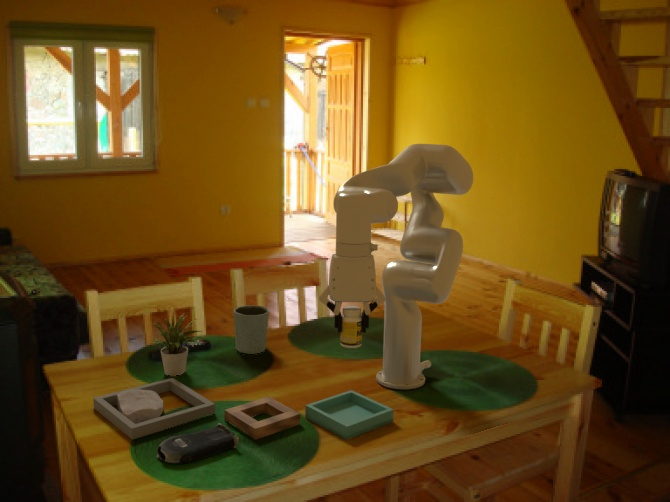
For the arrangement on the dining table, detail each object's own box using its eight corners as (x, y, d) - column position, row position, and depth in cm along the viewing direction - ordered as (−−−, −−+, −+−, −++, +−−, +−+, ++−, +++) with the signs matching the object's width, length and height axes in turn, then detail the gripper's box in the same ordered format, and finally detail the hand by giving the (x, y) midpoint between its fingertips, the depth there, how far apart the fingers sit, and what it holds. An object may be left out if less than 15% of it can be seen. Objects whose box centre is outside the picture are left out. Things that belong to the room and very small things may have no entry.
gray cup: (239, 343, 207) (239, 304, 205) (272, 345, 206) (272, 306, 203) (229, 354, 197) (229, 313, 195) (264, 357, 196) (264, 315, 194)
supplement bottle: (359, 349, 151) (360, 312, 149) (338, 347, 152) (339, 310, 150) (363, 342, 156) (364, 306, 154) (342, 340, 157) (343, 304, 155)
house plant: (159, 389, 172) (157, 325, 169) (134, 372, 182) (131, 312, 179) (209, 375, 181) (208, 315, 178) (183, 360, 192) (181, 303, 188)
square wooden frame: (268, 406, 163) (268, 396, 163) (300, 424, 154) (300, 413, 154) (224, 420, 156) (224, 409, 155) (255, 439, 147) (255, 428, 146)
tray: (351, 401, 167) (351, 390, 166) (393, 421, 157) (393, 409, 156) (305, 417, 158) (305, 405, 157) (346, 440, 148) (346, 426, 147)
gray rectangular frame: (172, 387, 173) (172, 377, 173) (215, 414, 159) (214, 404, 158) (93, 408, 160) (93, 397, 160) (132, 439, 146) (131, 428, 145)
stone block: (155, 407, 166) (112, 406, 162) (159, 388, 166) (116, 386, 161) (166, 429, 156) (120, 429, 151) (170, 409, 155) (124, 408, 151)
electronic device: (215, 439, 150) (149, 449, 141) (220, 416, 149) (154, 424, 140) (236, 462, 143) (168, 474, 134) (241, 438, 142) (173, 448, 133)
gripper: (390, 246, 154) (387, 325, 157) (313, 245, 153) (312, 325, 156) (394, 253, 146) (391, 336, 150) (313, 252, 145) (312, 336, 149)
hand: (351, 330), depth 153 cm, fingers closed on supplement bottle, 4 cm apart
